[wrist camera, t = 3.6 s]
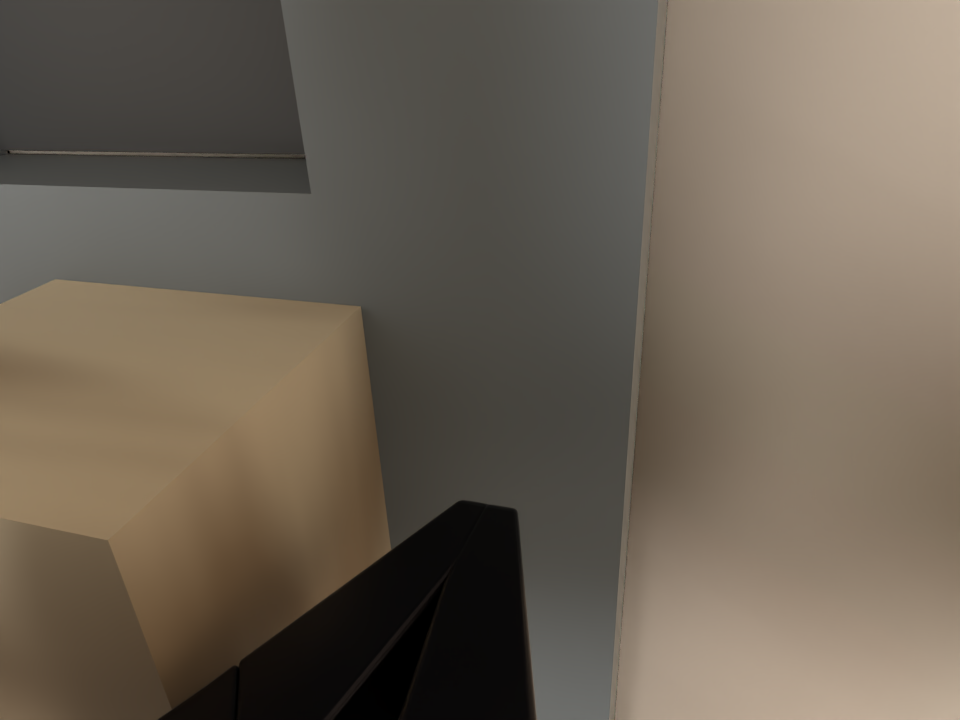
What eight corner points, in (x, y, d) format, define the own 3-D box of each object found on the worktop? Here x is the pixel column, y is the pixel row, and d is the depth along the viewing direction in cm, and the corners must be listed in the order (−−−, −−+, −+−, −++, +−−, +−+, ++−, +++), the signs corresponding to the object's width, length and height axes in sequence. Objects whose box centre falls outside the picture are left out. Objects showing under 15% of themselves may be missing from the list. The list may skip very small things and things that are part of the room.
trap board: (726, -778, 6) (748, -1640, 3) (606, 829, 16) (584, 1015, 13) (-671, -317, 11) (-1151, -424, 8) (-83, 642, 22) (-204, 742, 19)
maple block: (395, 584, 11) (238, 886, 8) (143, 534, 13) (-101, 770, 9) (360, 306, 9) (109, 540, 5) (55, 279, 10) (-326, 449, 6)
